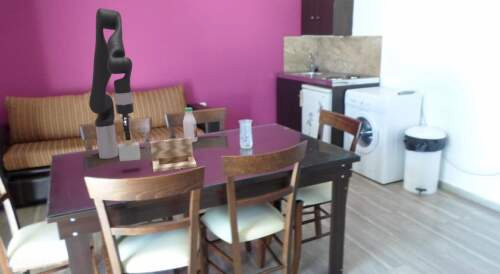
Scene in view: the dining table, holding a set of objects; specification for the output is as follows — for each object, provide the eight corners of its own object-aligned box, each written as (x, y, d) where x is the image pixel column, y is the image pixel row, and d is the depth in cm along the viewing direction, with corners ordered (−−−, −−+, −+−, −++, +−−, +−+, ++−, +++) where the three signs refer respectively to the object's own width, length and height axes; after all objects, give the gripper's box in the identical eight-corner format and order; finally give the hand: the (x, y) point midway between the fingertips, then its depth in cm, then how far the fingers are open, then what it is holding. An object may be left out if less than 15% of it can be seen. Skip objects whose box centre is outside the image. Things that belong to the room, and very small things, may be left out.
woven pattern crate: (153, 172, 179) (150, 149, 176) (152, 163, 192) (150, 141, 189) (196, 166, 184) (194, 144, 181) (192, 158, 197) (191, 137, 194)
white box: (119, 161, 178) (116, 134, 175) (120, 158, 183) (117, 131, 180) (140, 159, 180) (137, 132, 177) (140, 156, 185) (137, 129, 182)
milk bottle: (191, 143, 223) (188, 109, 218) (181, 142, 227) (178, 108, 222) (200, 140, 230) (197, 107, 224) (190, 139, 234) (187, 106, 228)
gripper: (116, 100, 180) (120, 136, 185) (114, 105, 167) (118, 144, 172) (133, 99, 182) (137, 135, 187) (132, 104, 169) (136, 142, 174)
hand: (128, 139), depth 179 cm, fingers closed on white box
